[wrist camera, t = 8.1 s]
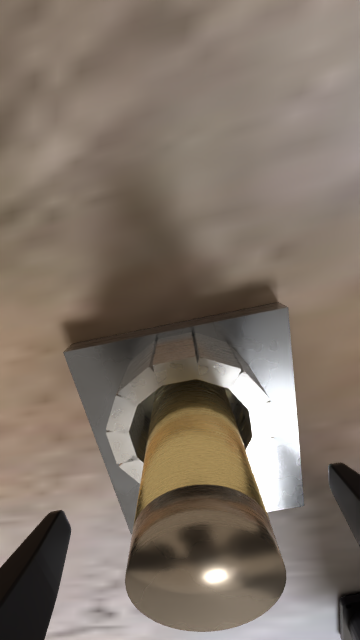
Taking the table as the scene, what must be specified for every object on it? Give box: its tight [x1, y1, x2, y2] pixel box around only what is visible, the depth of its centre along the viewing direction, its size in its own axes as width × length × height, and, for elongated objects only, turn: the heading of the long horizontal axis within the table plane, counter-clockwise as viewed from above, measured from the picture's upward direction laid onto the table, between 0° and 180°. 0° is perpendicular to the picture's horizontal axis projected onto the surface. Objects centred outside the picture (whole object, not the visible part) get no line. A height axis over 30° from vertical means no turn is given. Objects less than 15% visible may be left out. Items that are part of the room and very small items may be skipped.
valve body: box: [125, 379, 286, 632], centre depth 10 cm, size 4×4×8 cm
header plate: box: [63, 302, 304, 534], centre depth 14 cm, size 14×12×4 cm
